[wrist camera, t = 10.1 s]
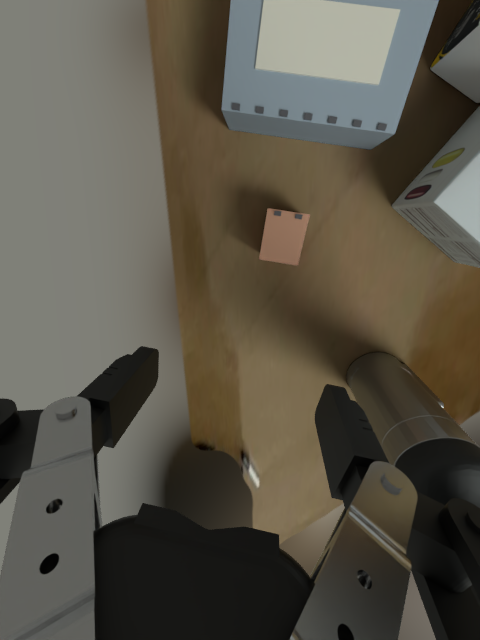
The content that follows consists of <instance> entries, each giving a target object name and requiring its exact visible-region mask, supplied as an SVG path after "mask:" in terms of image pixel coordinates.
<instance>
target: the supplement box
mask: <svg viewBox="0 0 480 640" xmlns="http://www.w3.org/2000/svg"><path fill="white" fill-rule="evenodd" d="M392 208H394V209H395V210H396V211H397V212H398V213H399V214H400V215H401V216H402V217H404V218H405V219H406V220H407V221H408V222H409V223H410V224H412V225H413V226H414V227H415V228H416V229H417V230H419V231H420V232H421V233H422V234H423V235H424V236H425V237H427V238H428V239H429V240H430V241H431V242H432V243H434V244H435V245H436V246H437V247H438V248H439V249H440V250H442V251H443V252H444V253H445V254H446V255H447V256H448V257H450V258H451V259H452V260H453V261H454V262H456V263H461V264H466V265H471V266H475V267H479V268H480V106H479V107H478V108H477V109H476V110H475V112H474V113H473V114H472V115H471V116H470V117H469V118H468V119H467V121H466V122H465V123H464V124H463V125H462V126H461V127H460V128H459V130H458V131H457V132H456V133H455V134H454V135H453V136H452V137H451V139H450V140H449V141H448V142H447V143H446V144H445V145H444V146H443V148H442V149H441V150H440V151H439V152H438V153H437V154H436V155H435V157H434V158H433V159H432V160H431V161H430V162H429V163H428V164H427V166H426V167H425V168H424V169H423V170H422V171H421V172H420V174H419V175H418V176H417V177H416V178H415V179H414V180H413V181H412V182H411V184H410V185H409V186H408V187H407V188H406V189H405V190H404V192H403V193H402V194H401V195H400V196H399V197H398V198H397V200H396V201H395V202H394V203H393V204H392Z"/></svg>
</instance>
